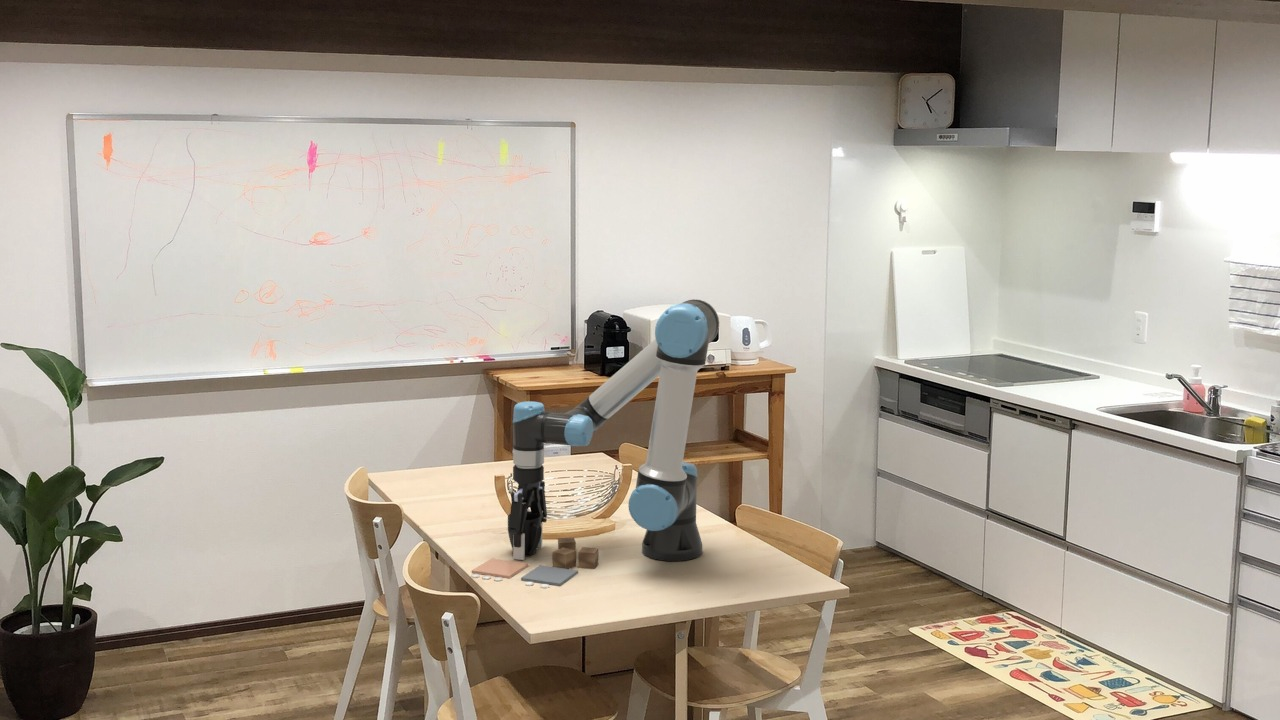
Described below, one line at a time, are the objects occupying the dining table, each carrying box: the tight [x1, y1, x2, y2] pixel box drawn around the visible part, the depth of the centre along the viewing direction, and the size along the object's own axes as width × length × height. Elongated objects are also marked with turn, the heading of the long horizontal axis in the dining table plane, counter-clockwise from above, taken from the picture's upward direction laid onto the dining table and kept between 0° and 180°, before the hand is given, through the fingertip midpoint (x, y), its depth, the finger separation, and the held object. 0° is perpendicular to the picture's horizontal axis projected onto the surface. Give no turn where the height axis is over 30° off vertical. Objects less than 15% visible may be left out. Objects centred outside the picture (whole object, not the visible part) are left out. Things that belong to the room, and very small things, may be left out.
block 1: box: [557, 537, 577, 552], centre depth 304 cm, size 4×4×4 cm
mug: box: [507, 510, 543, 557], centre depth 304 cm, size 8×12×10 cm
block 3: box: [577, 546, 599, 570], centre depth 297 cm, size 4×4×4 cm
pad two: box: [520, 564, 579, 589], centre depth 287 cm, size 10×13×1 cm
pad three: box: [470, 557, 530, 582], centre depth 292 cm, size 10×13×1 cm
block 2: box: [551, 547, 577, 569], centre depth 296 cm, size 4×4×4 cm
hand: (528, 553), depth 305 cm, fingers open, 9 cm apart
